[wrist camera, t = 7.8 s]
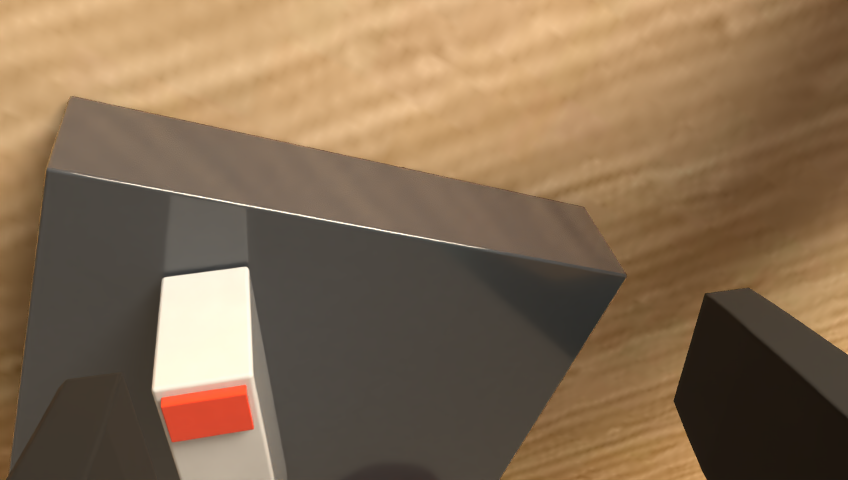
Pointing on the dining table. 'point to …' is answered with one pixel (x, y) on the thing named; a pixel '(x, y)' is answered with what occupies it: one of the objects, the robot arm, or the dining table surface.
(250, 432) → the tap lever
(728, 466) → the robot arm
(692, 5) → the dining table surface
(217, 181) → the tap deck
